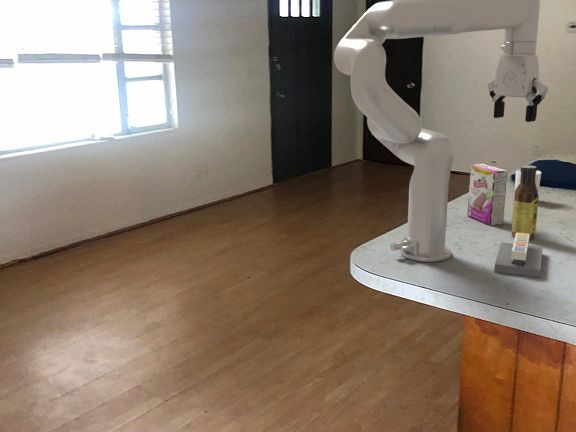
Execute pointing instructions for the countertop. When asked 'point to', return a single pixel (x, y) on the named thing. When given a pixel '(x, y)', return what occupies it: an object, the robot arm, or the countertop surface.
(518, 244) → the key terracotta
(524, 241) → the key sage
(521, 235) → the key mustard
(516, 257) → the key blue
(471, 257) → the countertop surface
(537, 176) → the white cup
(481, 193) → the candy bar box
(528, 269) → the keypad board
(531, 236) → the sauce bottle
